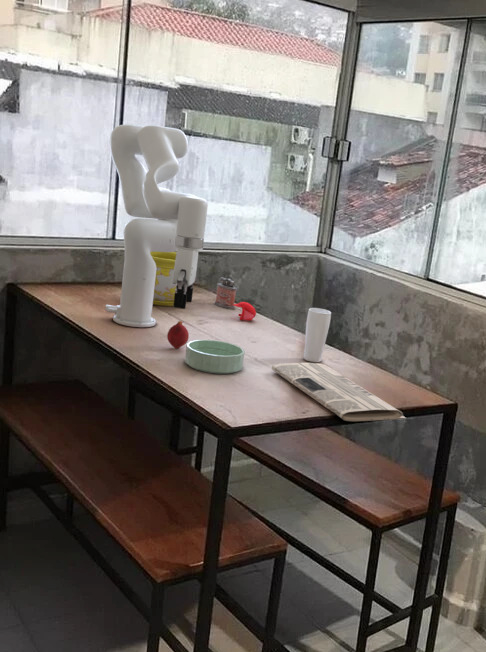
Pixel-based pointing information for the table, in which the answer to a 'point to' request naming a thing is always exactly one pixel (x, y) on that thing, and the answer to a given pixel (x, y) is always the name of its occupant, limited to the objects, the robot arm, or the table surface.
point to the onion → (178, 335)
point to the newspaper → (337, 392)
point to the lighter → (225, 293)
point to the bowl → (214, 356)
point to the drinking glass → (316, 333)
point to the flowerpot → (164, 278)
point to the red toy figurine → (246, 311)
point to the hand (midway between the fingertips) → (182, 304)
